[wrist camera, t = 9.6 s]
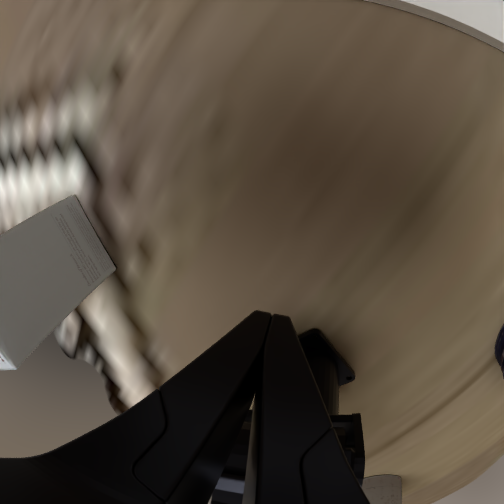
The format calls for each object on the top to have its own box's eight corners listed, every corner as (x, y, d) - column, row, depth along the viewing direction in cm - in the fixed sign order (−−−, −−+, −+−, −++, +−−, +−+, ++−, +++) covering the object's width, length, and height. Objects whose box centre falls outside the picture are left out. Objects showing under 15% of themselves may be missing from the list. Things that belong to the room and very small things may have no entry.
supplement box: (75, 191, 21) (-52, 266, 10) (119, 269, 24) (18, 375, 13) (36, 224, 24) (-62, 293, 13) (74, 289, 26) (-10, 373, 15)
